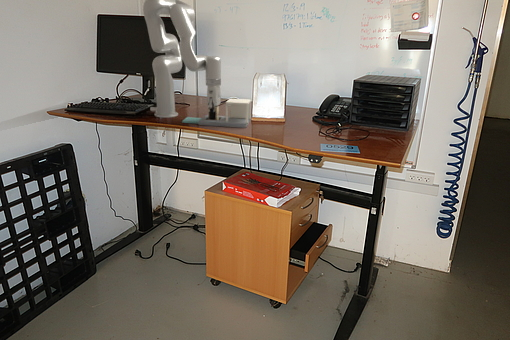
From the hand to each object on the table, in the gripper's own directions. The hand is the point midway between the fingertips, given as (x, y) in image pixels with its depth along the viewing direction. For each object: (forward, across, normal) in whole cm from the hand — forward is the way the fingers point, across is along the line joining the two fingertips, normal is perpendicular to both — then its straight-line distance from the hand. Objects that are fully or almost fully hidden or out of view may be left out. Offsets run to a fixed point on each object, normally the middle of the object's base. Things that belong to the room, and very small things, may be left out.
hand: (213, 117), depth 196 cm
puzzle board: (+2, 0, -6) cm, 6 cm away
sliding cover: (0, 0, -13) cm, 13 cm away
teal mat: (+2, 0, +11) cm, 11 cm away
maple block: (+2, 0, 0) cm, 2 cm away
